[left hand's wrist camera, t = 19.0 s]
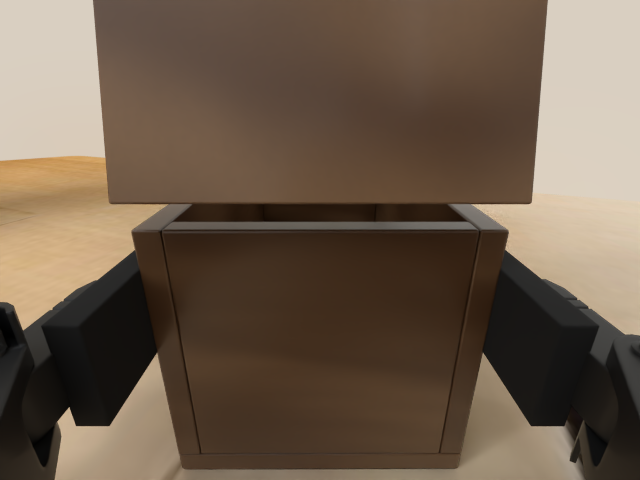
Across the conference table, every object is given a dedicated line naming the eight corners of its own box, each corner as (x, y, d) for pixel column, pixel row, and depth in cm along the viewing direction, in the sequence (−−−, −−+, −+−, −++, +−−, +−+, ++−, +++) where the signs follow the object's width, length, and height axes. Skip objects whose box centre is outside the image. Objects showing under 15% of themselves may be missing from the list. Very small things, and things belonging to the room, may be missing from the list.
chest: (258, 262, 27) (250, 146, 24) (380, 262, 27) (388, 146, 24) (181, 469, 12) (130, 230, 9) (458, 469, 12) (510, 230, 9)
